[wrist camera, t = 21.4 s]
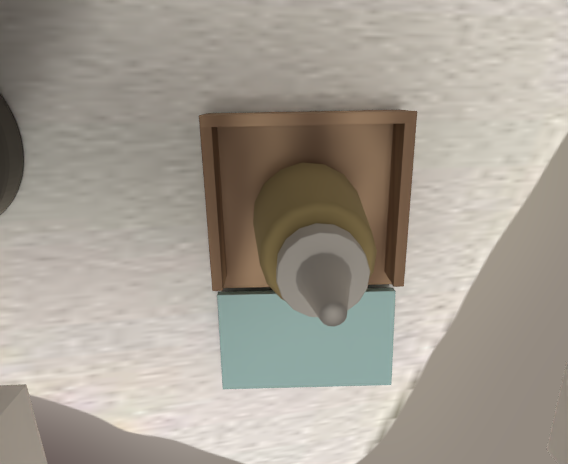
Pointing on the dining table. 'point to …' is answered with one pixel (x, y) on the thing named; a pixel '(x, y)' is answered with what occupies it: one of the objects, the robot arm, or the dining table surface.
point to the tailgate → (304, 342)
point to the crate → (305, 149)
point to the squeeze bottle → (314, 241)
